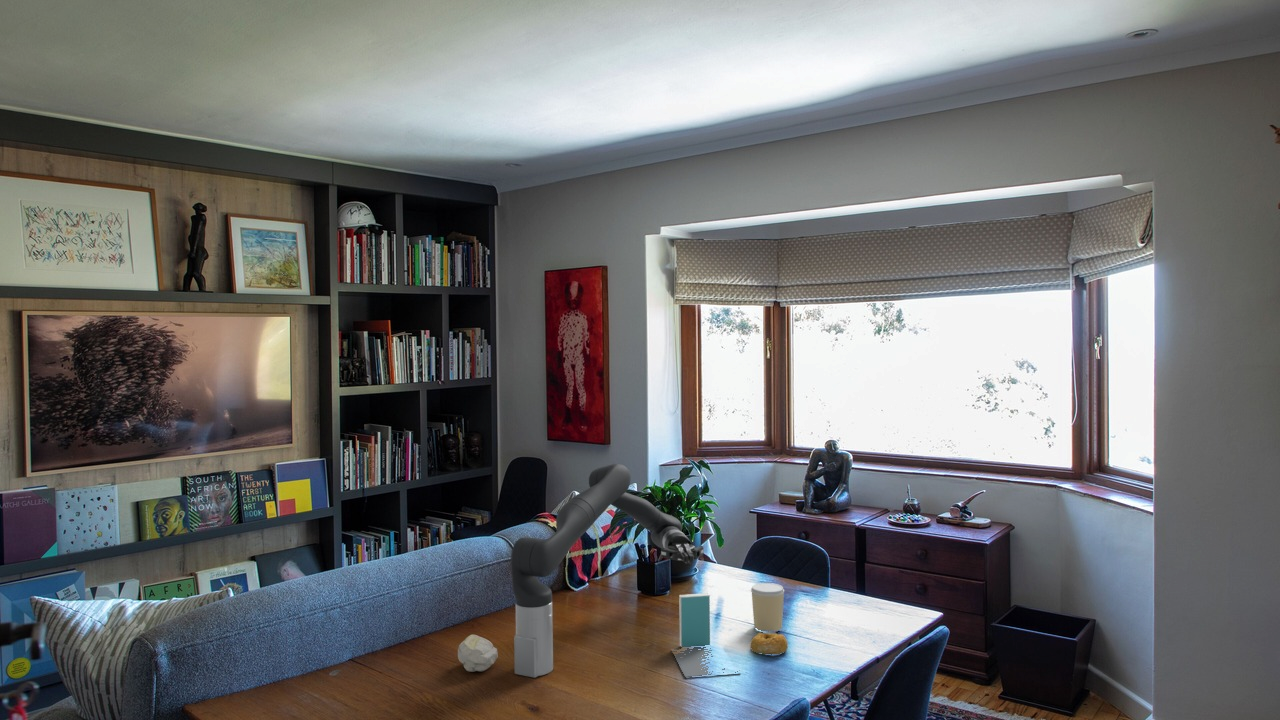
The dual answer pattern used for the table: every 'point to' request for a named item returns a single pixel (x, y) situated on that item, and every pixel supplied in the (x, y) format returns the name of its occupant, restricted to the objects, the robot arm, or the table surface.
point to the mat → (693, 661)
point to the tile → (694, 619)
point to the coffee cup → (767, 606)
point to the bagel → (769, 643)
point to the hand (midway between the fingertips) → (689, 559)
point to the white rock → (476, 653)
